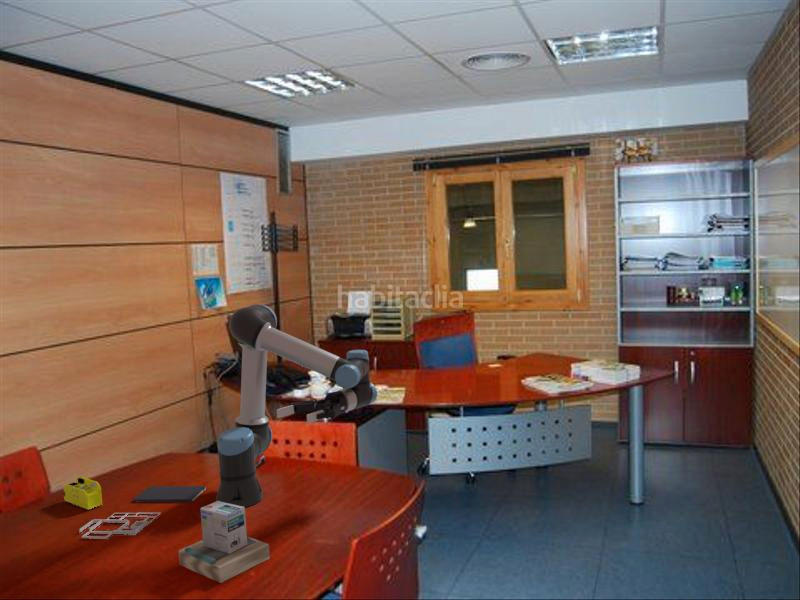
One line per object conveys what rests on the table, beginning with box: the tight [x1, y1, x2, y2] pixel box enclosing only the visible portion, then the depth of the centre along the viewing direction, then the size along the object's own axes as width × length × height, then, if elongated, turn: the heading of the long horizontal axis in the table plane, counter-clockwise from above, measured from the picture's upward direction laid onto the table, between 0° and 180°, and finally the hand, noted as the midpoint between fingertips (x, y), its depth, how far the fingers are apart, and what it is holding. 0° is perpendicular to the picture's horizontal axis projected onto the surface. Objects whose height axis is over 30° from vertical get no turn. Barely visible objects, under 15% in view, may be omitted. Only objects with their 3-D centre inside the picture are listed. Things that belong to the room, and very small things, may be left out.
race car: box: [255, 452, 267, 469], centre depth 262 cm, size 16×7×5 cm, turn 160°
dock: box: [178, 535, 271, 584], centre depth 183 cm, size 18×16×5 cm
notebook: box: [131, 485, 207, 503], centre depth 236 cm, size 13×2×21 cm
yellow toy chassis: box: [63, 475, 103, 511], centre depth 231 cm, size 16×6×8 cm, turn 53°
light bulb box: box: [199, 501, 248, 554], centre depth 183 cm, size 11×7×11 cm, turn 57°
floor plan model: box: [78, 512, 162, 540], centre depth 207 cm, size 19×25×2 cm
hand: (292, 416), depth 208 cm, fingers open, 13 cm apart
